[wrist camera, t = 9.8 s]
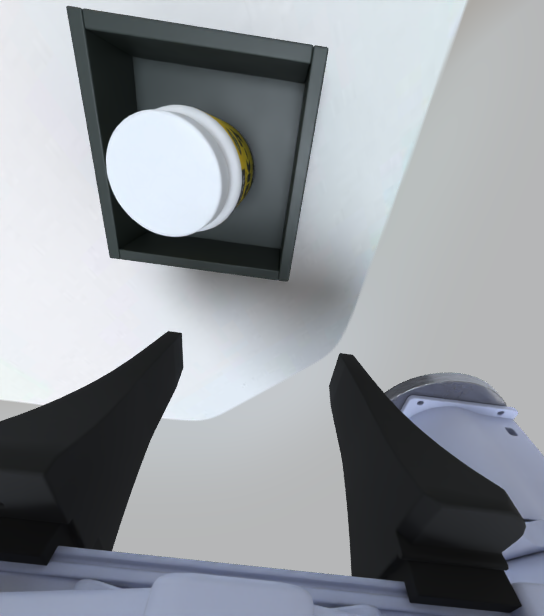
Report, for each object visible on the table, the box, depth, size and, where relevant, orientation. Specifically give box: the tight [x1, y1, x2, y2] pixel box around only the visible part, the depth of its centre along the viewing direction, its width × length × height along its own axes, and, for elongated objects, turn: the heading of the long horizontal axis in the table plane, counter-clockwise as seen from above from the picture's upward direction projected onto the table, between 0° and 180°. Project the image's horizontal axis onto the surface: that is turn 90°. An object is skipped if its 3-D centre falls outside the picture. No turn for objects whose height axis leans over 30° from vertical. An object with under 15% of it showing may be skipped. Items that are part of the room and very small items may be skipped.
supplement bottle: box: [106, 105, 254, 237], centre depth 13 cm, size 5×5×8 cm
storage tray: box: [66, 6, 328, 281], centre depth 15 cm, size 10×10×5 cm
